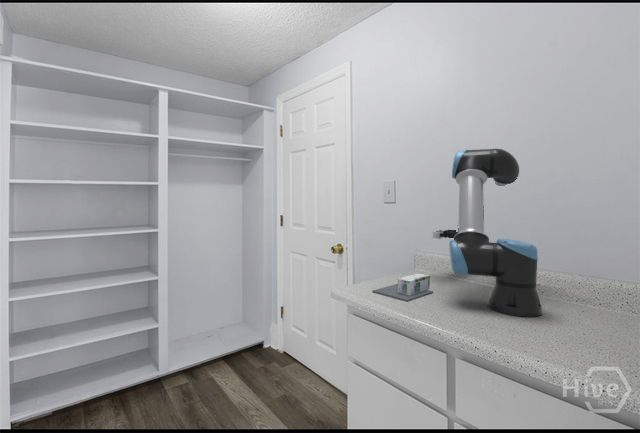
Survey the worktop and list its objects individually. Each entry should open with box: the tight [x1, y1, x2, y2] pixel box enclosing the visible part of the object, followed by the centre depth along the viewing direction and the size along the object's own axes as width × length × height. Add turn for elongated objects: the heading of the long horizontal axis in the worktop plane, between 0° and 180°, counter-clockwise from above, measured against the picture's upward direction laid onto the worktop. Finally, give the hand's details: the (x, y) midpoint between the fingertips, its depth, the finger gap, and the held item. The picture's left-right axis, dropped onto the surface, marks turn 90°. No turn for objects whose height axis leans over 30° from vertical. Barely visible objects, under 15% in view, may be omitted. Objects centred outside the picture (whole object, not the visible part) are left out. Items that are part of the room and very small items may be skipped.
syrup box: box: [397, 273, 431, 296], centre depth 127 cm, size 6×6×14 cm
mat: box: [372, 283, 434, 303], centre depth 128 cm, size 18×16×1 cm
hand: (434, 235), depth 142 cm, fingers closed
